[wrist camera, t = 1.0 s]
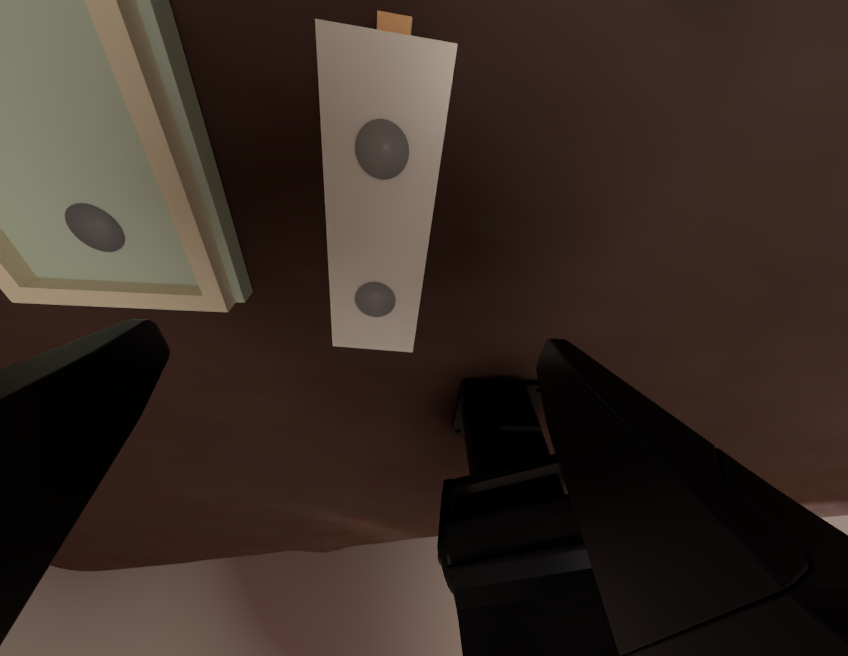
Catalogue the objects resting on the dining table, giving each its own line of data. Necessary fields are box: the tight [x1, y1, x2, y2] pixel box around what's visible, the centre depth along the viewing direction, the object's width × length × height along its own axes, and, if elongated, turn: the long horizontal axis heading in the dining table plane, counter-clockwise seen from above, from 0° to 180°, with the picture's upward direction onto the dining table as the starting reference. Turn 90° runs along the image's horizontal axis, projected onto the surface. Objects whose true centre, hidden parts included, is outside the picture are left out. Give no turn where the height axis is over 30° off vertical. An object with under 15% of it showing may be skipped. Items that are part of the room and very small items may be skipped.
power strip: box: [315, 11, 458, 352], centre depth 15 cm, size 13×4×5 cm, turn 173°
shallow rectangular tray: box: [0, 0, 253, 312], centre depth 13 cm, size 18×12×2 cm, turn 176°
